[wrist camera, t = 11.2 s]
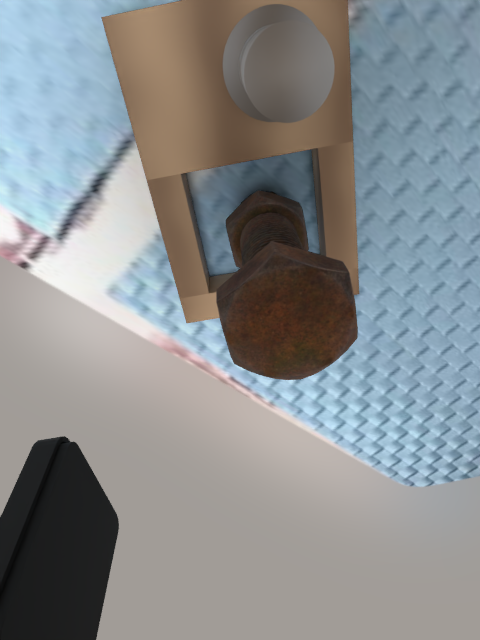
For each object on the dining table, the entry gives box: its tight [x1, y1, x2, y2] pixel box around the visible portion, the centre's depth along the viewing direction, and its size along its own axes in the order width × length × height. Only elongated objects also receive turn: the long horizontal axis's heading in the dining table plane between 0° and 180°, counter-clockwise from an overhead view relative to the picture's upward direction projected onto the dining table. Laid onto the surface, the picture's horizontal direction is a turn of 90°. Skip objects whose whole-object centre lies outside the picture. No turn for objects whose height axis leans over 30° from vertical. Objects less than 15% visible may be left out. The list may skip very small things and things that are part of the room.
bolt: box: [216, 190, 358, 380], centre depth 24 cm, size 6×5×15 cm
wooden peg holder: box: [101, 0, 359, 323], centre depth 25 cm, size 12×18×9 cm, turn 10°
